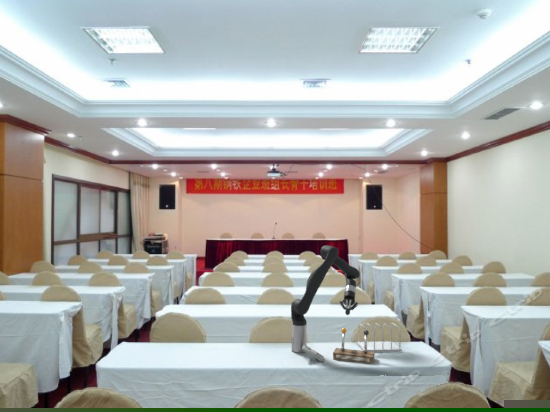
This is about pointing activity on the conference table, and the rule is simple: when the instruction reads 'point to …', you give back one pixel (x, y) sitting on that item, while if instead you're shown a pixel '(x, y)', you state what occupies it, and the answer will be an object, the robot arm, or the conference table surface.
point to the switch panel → (353, 355)
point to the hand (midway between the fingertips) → (347, 314)
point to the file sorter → (382, 345)
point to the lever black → (365, 341)
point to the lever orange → (343, 338)
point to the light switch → (313, 353)
